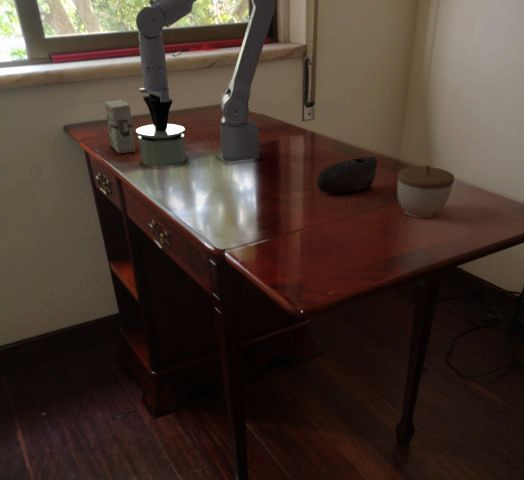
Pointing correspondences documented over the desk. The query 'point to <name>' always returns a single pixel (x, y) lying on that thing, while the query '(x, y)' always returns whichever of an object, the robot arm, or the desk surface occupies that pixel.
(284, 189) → the desk surface
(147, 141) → the bowl
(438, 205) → the trinket box
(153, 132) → the lid
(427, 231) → the desk surface
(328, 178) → the perforated stone tool
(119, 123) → the ink box
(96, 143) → the desk surface
